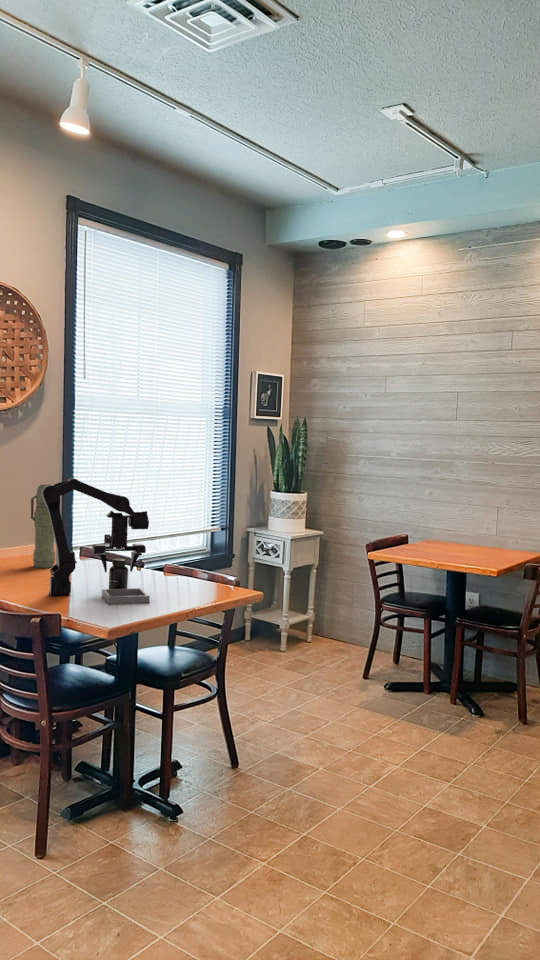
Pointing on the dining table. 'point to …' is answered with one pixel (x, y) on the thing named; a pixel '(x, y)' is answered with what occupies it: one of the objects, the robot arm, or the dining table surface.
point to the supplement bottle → (118, 574)
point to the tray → (125, 596)
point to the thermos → (42, 534)
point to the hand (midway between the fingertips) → (118, 572)
